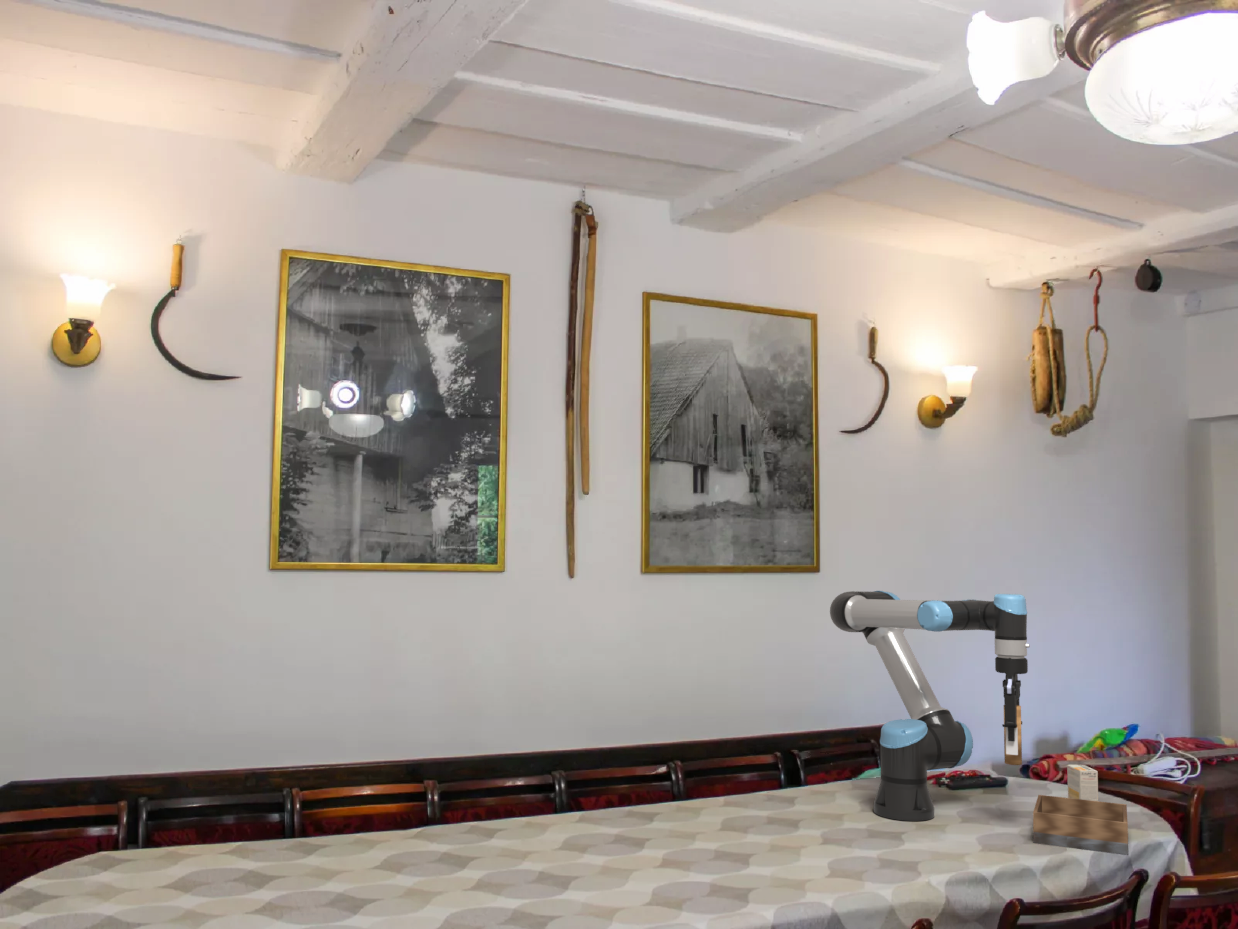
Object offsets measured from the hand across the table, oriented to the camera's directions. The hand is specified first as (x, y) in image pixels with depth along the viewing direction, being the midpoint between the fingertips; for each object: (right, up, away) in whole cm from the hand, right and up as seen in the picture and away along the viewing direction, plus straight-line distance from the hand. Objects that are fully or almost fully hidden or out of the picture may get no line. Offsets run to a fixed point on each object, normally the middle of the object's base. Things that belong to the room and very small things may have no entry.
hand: (1012, 752), depth 256 cm
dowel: (0, -3, 0) cm, 3 cm away
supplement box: (+22, -20, +11) cm, 32 cm away
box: (+14, -19, -7) cm, 24 cm away
